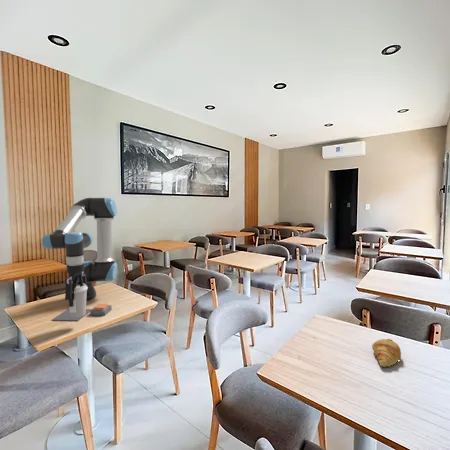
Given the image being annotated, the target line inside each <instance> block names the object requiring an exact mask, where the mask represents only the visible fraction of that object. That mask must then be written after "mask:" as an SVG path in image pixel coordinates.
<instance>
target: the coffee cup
mask: <svg viewBox="0 0 450 450" xmlns="http://www.w3.org/2000/svg"><path fill="white" fill-rule="evenodd" d="M87 289H88V287H87V286H86V284H84V283H83V286H80V285H79V284H78V285H77V286H76V288H75V290H74V294H75V296H74V299H75V302H76V312H75V313H71V317H73V318H77V317H81V316H84V315H85V314H86V309H87V301H86V296H87ZM72 293H73V291H72ZM67 302H69V300H67ZM86 315H87V314H86ZM86 315H85V316H86ZM85 316H84V317H85Z"/></svg>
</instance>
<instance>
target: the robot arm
mask: <svg viewBox="0 0 450 450" xmlns="http://www.w3.org/2000/svg"><path fill="white" fill-rule="evenodd" d="M117 212H118V209H117V205H116V202H115V200H114V199H113V198H111V197H86V198H83V199H80V200H78V201H77V202H75V203H74V204H73V205H72V206H71V207H70V209H69V212H68V214H67V215H66V216H65V217H64V219H63V220H62V221H61V223H60V224H58V226H57V228H56V229H55V230H54V231H53V232H51V233H48V234H47V233H46V234H44V235H43V236H42V238H41V244H42V247H43V248H44V249H49V250H51V249H52V250H54V249H55V250H58V249H62V250H63V249H65V260H66V273H68V275H69V276H68V279H67V278H66V279H65V280H64V283H65V292H64V293H65V295H64V296H65V297H64V300H65V301H68V300H69V301H68V306H69V308H68V309H69V310H70V313H75V312H76V302H75V299H74V296H75V294H74V290H75V288H76V286H77V285H78V284H79V285H80V286H83V283H84V284H86V286H87V287H88V289H87V296H86V302H87V301H90V300H92V299H95V298H96V297H97V291H96V288H95V286H94V282H111V281H114V280H115V278H116V276H117V273H118V263H117V262H115V259H114V258H113V257H112V255H113V254H112V252H113V251H112V250H113V249H112V221H113V220H114V219H115V218H114V217H116V216H117V214H118V213H117ZM90 216H91V217H93V220H95V221H96V255H97V257H96V259H95V260H94V263H93V261H92V260H85V255H84V249H85V248H88V247H89V246H91V245H92V244H93V242H94V240H93V236H92V235H91V234H90V233H88V232H80V231H75V229H76V228H77V227H78V225H79V224H80V222H81V221H82V220H83V219H85V218H86V217H90ZM72 291H73V293H72Z"/></svg>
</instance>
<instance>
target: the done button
mask: <svg viewBox="0 0 450 450" xmlns="http://www.w3.org/2000/svg"><path fill="white" fill-rule="evenodd" d="M108 305H109V303H98V304H96V305H95V306H94V307H93V308H94V310H105V309H106V308H107V307H108Z"/></svg>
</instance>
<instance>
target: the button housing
mask: <svg viewBox="0 0 450 450" xmlns="http://www.w3.org/2000/svg"><path fill="white" fill-rule="evenodd" d="M91 309H92V310H91V311H90V312H89V313H90V316H98V317H99V316H101V317H102V316H103V317H104V316H106V315H108V313H111V310H112V309H113V307H112V305H111V304H108V307H107V308H106V309H105V310H94V307H93V308H91Z"/></svg>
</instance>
